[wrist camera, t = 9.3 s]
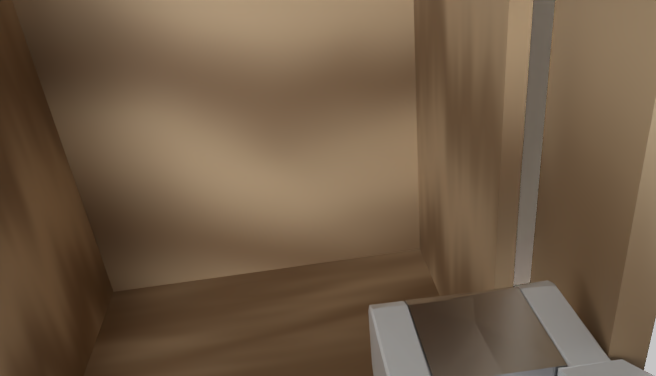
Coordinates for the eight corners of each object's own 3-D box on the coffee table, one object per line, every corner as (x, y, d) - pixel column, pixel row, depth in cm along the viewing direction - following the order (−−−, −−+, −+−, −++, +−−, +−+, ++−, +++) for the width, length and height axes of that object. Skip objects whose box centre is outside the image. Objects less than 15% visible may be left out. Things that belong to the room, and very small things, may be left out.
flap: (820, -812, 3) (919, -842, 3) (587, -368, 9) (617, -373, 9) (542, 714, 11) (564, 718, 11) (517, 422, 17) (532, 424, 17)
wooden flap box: (-84, -240, 16) (-800, -483, 5) (419, -290, 16) (713, -604, 6) (112, 308, 25) (0, 626, 14) (429, 263, 26) (547, 537, 15)
